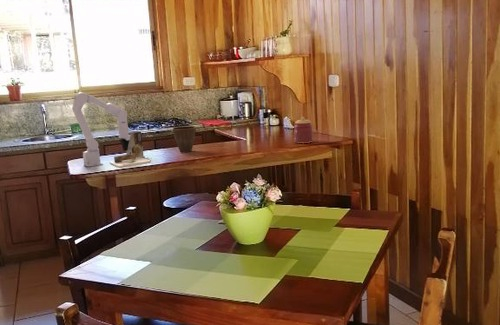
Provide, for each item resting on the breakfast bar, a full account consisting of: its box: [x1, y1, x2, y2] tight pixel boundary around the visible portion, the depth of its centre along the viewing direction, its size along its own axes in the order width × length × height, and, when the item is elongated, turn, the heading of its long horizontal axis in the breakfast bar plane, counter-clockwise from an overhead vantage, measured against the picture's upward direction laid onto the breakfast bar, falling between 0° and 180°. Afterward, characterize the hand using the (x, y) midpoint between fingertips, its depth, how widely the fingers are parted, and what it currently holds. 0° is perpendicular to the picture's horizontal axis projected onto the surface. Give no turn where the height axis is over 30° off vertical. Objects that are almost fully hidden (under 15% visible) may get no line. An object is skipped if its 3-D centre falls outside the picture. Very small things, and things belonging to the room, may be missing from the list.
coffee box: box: [125, 130, 145, 158], centre depth 331 cm, size 9×6×16 cm
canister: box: [293, 116, 314, 143], centre depth 351 cm, size 13×13×18 cm
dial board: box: [109, 156, 152, 168], centre depth 312 cm, size 20×16×1 cm
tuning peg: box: [113, 153, 137, 162], centre depth 314 cm, size 13×4×3 cm, turn 123°
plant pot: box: [172, 125, 196, 153], centre depth 341 cm, size 15×15×16 cm
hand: (125, 150), depth 320 cm, fingers closed
